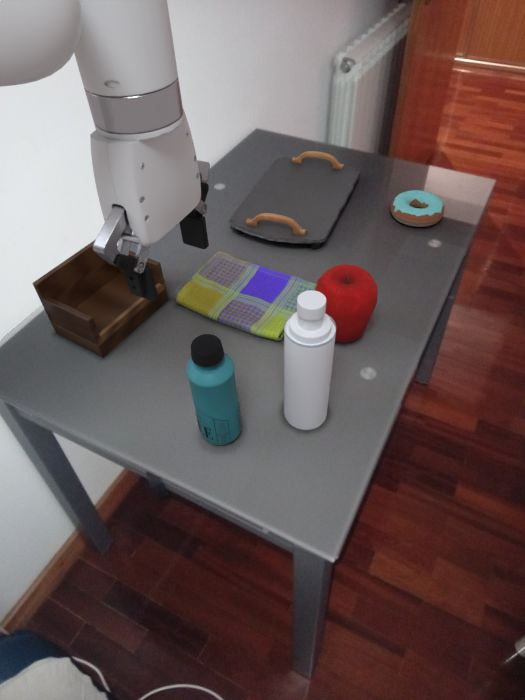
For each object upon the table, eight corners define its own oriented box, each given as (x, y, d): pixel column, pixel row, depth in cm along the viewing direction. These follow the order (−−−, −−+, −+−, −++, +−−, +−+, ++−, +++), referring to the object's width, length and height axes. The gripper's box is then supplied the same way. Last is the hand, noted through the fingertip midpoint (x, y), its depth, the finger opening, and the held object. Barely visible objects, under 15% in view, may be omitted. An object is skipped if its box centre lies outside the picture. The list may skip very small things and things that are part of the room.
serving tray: (280, 162, 134) (280, 139, 129) (364, 175, 128) (367, 151, 123) (221, 239, 110) (219, 215, 105) (321, 260, 103) (323, 235, 99)
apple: (369, 356, 84) (381, 295, 75) (310, 350, 86) (314, 290, 76) (370, 314, 92) (381, 254, 82) (315, 310, 93) (319, 250, 83)
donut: (447, 209, 115) (452, 193, 112) (434, 235, 108) (439, 219, 105) (398, 198, 119) (400, 183, 116) (382, 223, 112) (385, 207, 109)
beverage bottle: (250, 424, 76) (242, 332, 61) (230, 459, 71) (216, 369, 57) (213, 410, 78) (196, 318, 63) (191, 443, 74) (169, 353, 59)
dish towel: (276, 350, 86) (275, 338, 84) (169, 303, 96) (167, 292, 93) (322, 293, 96) (323, 282, 94) (222, 256, 105) (220, 245, 103)
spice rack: (103, 358, 86) (82, 307, 77) (56, 333, 91) (31, 283, 82) (168, 299, 96) (157, 248, 87) (123, 280, 101) (108, 230, 92)
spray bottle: (322, 393, 79) (333, 269, 61) (330, 427, 75) (346, 304, 56) (281, 398, 79) (280, 274, 61) (287, 433, 74) (289, 311, 56)
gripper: (160, 65, 47) (187, 221, 60) (25, 138, 37) (91, 307, 49) (228, 75, 45) (240, 236, 57) (103, 156, 34) (152, 330, 47)
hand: (171, 269), depth 53 cm, fingers open, 9 cm apart
